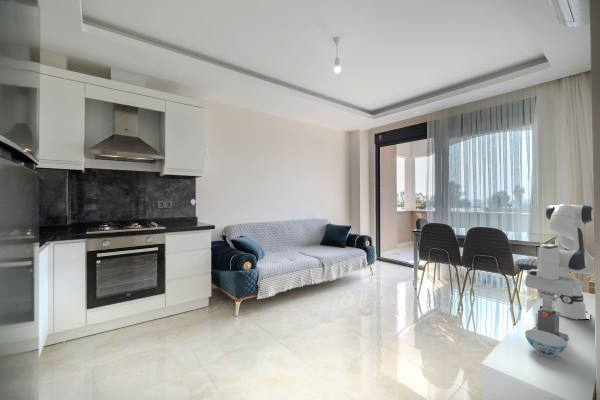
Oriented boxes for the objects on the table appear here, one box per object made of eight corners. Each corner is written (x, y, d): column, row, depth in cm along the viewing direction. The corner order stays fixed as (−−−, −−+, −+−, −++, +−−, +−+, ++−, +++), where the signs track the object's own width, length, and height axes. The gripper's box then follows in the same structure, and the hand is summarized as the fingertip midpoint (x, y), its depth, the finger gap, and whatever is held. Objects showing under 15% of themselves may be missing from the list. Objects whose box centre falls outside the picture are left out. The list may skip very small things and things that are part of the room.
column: (544, 329, 150) (544, 290, 150) (555, 333, 146) (555, 292, 146) (541, 331, 148) (541, 291, 148) (552, 335, 144) (552, 294, 144)
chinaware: (571, 356, 128) (571, 339, 128) (560, 366, 120) (560, 349, 120) (531, 341, 141) (531, 326, 141) (519, 350, 133) (519, 334, 133)
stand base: (537, 327, 156) (537, 304, 156) (568, 337, 145) (568, 312, 145) (528, 333, 149) (528, 309, 149) (560, 344, 138) (560, 318, 138)
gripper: (577, 278, 140) (577, 304, 140) (528, 269, 157) (527, 292, 157) (573, 280, 136) (573, 307, 137) (523, 270, 154) (523, 294, 154)
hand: (548, 299), depth 147 cm, fingers closed on column, 4 cm apart
